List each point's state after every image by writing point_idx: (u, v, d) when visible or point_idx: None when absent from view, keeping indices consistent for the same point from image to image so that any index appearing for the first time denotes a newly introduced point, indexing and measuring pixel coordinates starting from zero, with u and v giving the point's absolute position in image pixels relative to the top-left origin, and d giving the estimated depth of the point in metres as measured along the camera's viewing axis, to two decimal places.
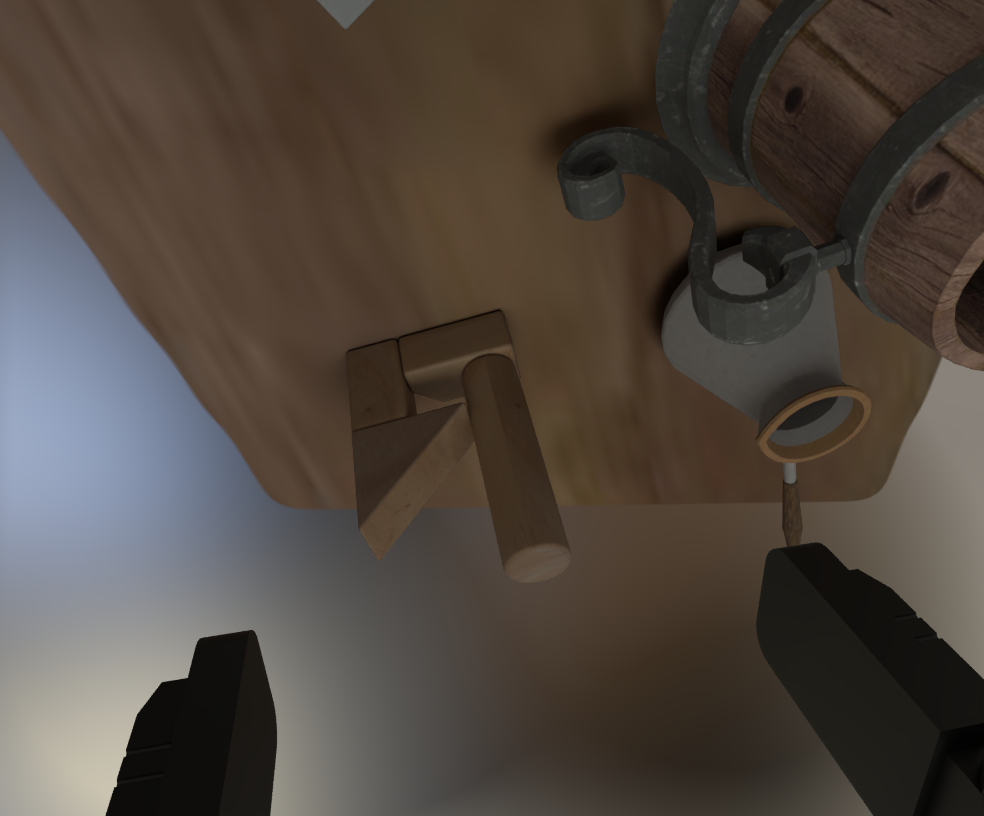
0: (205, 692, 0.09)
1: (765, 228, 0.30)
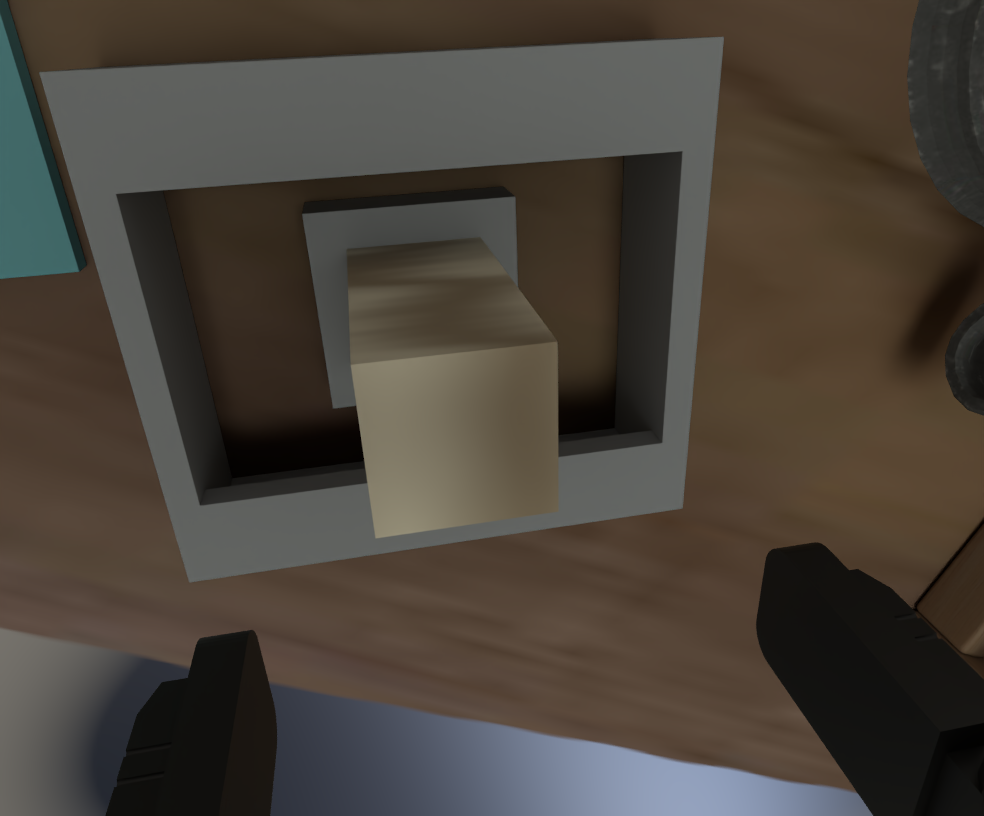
0: (205, 692, 0.09)
1: None
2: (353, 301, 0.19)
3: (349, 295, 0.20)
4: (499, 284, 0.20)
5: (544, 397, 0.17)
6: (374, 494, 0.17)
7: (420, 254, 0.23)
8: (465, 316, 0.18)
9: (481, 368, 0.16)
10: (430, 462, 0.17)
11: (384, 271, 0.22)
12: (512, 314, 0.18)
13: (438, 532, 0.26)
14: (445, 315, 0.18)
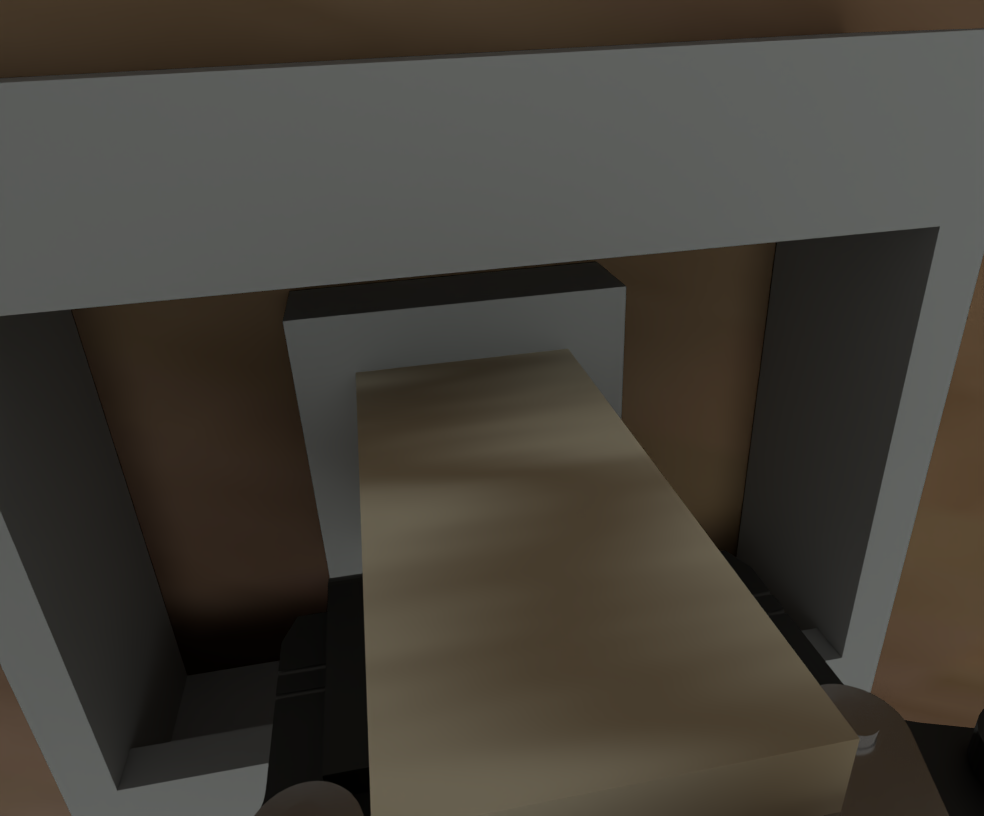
0: (346, 621, 0.10)
1: None
2: (371, 534, 0.10)
3: (362, 512, 0.10)
4: (641, 486, 0.11)
5: None
6: None
7: (478, 391, 0.14)
8: (605, 604, 0.09)
9: (679, 804, 0.07)
10: None
11: (422, 436, 0.12)
12: (704, 602, 0.08)
13: None
14: (562, 598, 0.09)
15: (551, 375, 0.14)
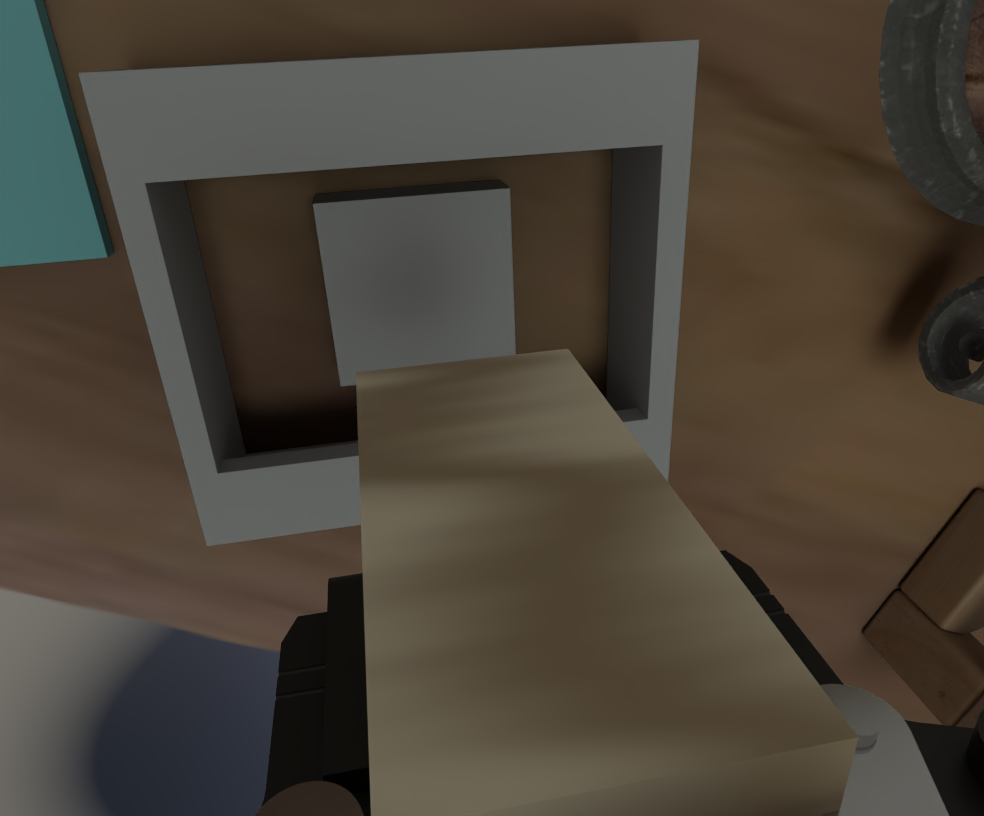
0: (346, 621, 0.10)
1: None
2: (371, 534, 0.10)
3: (363, 512, 0.10)
4: (641, 486, 0.11)
5: None
6: None
7: (478, 391, 0.14)
8: (605, 603, 0.09)
9: (678, 803, 0.07)
10: None
11: (421, 436, 0.12)
12: (703, 600, 0.09)
13: None
14: (561, 598, 0.09)
15: (551, 375, 0.14)
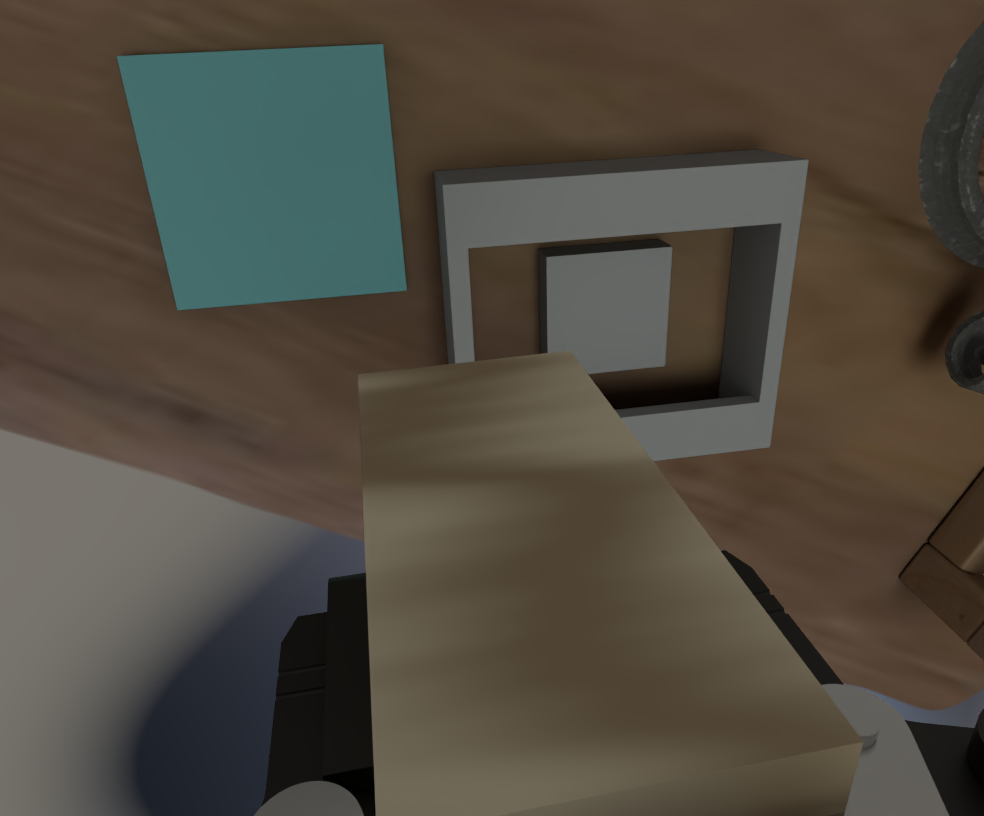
0: (346, 621, 0.10)
1: None
2: (374, 537, 0.10)
3: (366, 515, 0.10)
4: (644, 489, 0.11)
5: None
6: None
7: (480, 393, 0.14)
8: (609, 607, 0.09)
9: (685, 808, 0.07)
10: None
11: (424, 438, 0.12)
12: (707, 604, 0.09)
13: None
14: (565, 600, 0.09)
15: (553, 377, 0.14)
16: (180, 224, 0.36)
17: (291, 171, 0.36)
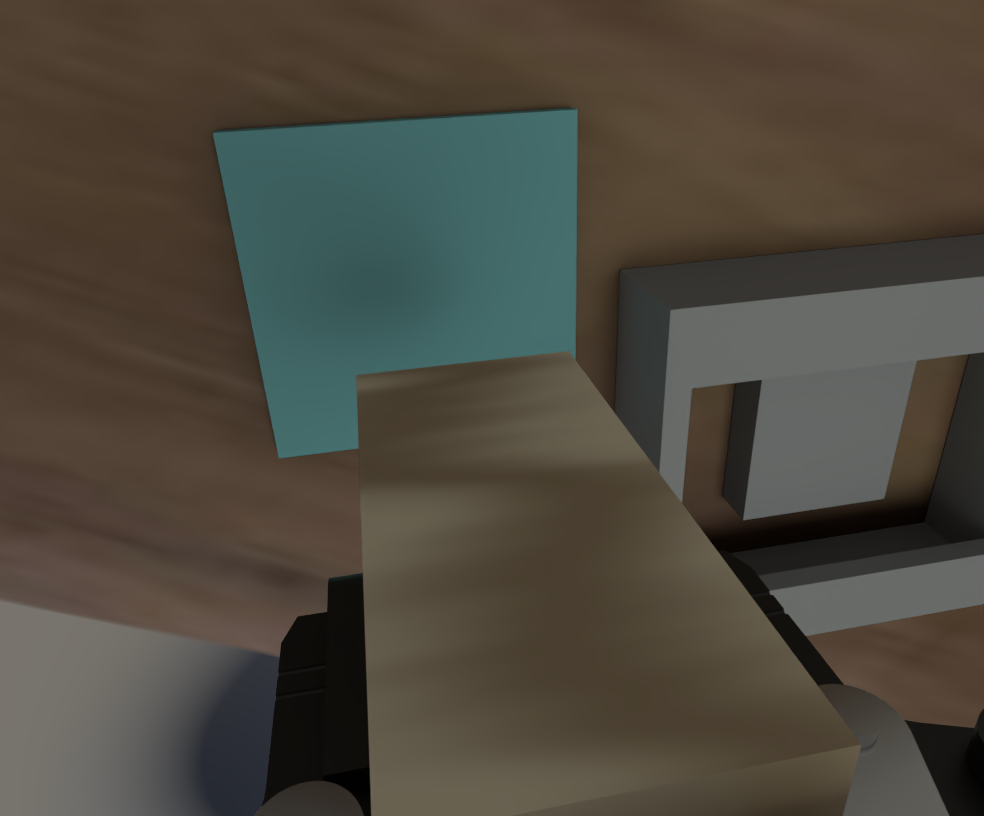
0: (346, 621, 0.10)
1: None
2: (371, 538, 0.10)
3: (363, 516, 0.10)
4: (642, 489, 0.11)
5: None
6: None
7: (479, 393, 0.14)
8: (606, 608, 0.09)
9: (681, 811, 0.07)
10: None
11: (422, 439, 0.12)
12: (705, 606, 0.08)
13: (833, 622, 0.32)
14: (562, 602, 0.09)
15: (551, 378, 0.14)
16: (289, 352, 0.27)
17: (440, 279, 0.27)
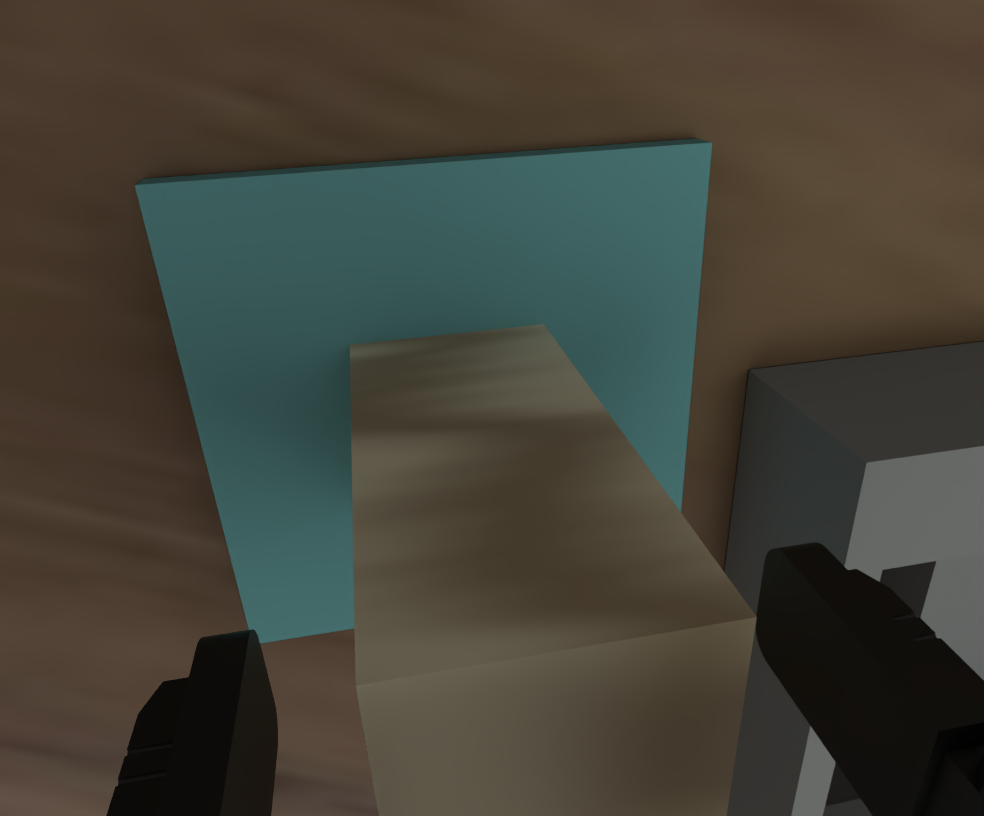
0: (206, 691, 0.09)
1: None
2: (360, 473, 0.11)
3: (353, 456, 0.12)
4: (598, 434, 0.12)
5: (719, 705, 0.09)
6: None
7: (460, 359, 0.15)
8: (559, 523, 0.10)
9: (608, 670, 0.08)
10: None
11: (407, 396, 0.14)
12: (642, 522, 0.10)
13: None
14: (522, 519, 0.10)
15: (526, 346, 0.16)
16: (264, 504, 0.18)
17: None
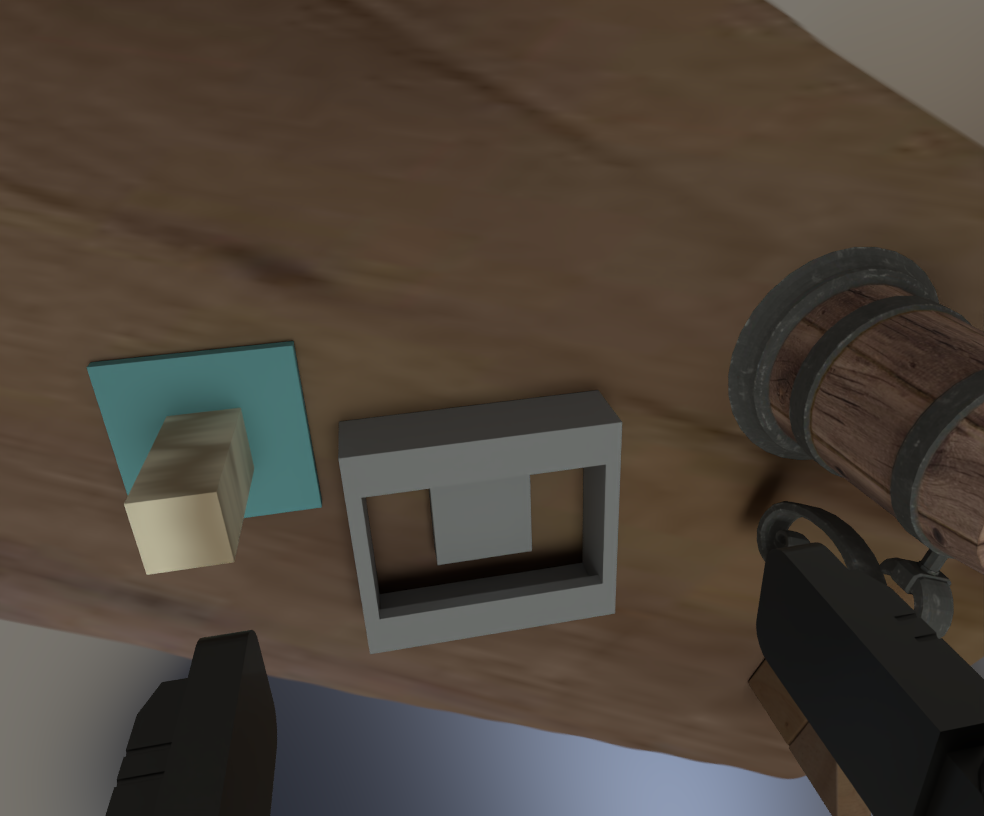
0: (205, 692, 0.09)
1: (887, 562, 0.45)
2: (147, 461, 0.41)
3: (147, 456, 0.41)
4: (221, 450, 0.41)
5: (215, 514, 0.38)
6: (143, 555, 0.38)
7: (200, 423, 0.45)
8: (189, 473, 0.39)
9: (183, 503, 0.37)
10: (167, 541, 0.38)
11: (174, 437, 0.43)
12: (211, 473, 0.39)
13: (490, 628, 0.53)
14: (181, 472, 0.39)
15: (226, 417, 0.45)
16: None
17: None
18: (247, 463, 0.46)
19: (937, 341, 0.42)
